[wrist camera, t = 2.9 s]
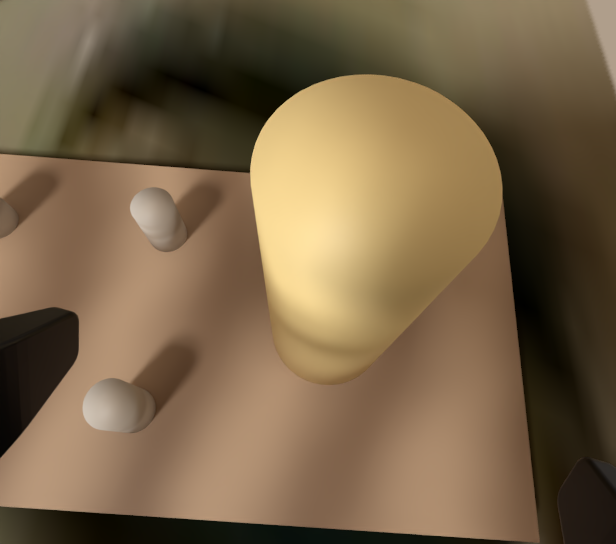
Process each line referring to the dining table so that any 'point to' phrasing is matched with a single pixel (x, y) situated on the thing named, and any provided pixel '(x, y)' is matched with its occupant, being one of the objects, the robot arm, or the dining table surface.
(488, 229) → the post
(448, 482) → the board
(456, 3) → the dining table surface
